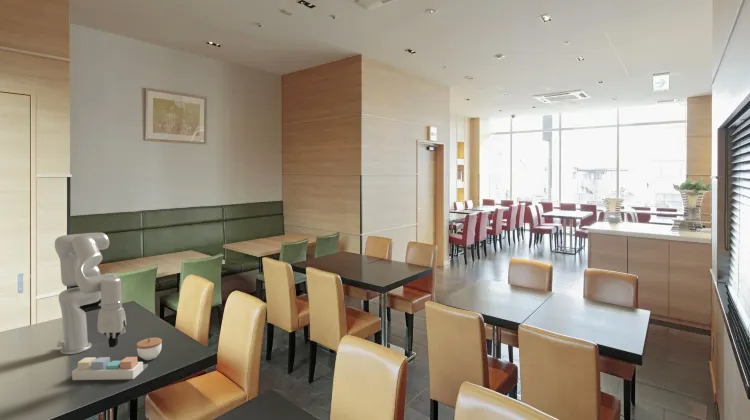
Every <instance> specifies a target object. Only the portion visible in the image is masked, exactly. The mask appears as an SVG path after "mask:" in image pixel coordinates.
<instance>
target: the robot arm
mask: <svg viewBox="0 0 750 420" xmlns="http://www.w3.org/2000/svg"><path fill="white" fill-rule="evenodd" d="M109 246H110V239H109V236H108V235H107V234H106V233H104V232H84V233H74V234H66V235H61V236H58V237H56V239H55V240H54V250H55V252H56V254H57V256H58V258H59V261H60V262H59V263H60V278H61V279H60V280H61V283H62V284H63V286H64V287H70V288H67V289H64V290H62V291H61V292H60V293H59V294H58V303H59V306H60V310H61V318H62V319H61V320H62V332H63V334H62V335H63V340H59V341H58V342H57V345H56V347H61V349H60V353H61V354H62V355H74V354H79V353H83V352H85V351H88V350H89V349H91V348H92V343H91V342H89V340H88V322H87V313H86V312H85V310H83V309H82V308H81V307H82V306H85V305H90V304H94V303H97V302H99V301H100V302H99V303H98V307H100V309H98V310H99V311H98V315H97V326H96V327H97V332H98V333H99V334H102V335H105V337H106V339H108V347H109V348H115V347H116V346H118V344H119V343H118V342H119V340H118V339H119V338H118V337H119V336H120V335H123V334H126V333H127V330H126V328H127V319H126V311H125V309H124V306H123V300H122V299H123V298H122V297H123V296H122V294H123V293H122V280H121V278H120V277H119V276H117V275H116V274H115V273H104V274H101V271H100V267H99V266H98V265H100V263H102V261H103V254H102V252H101V251H102V250H106V249H108V248H109ZM100 250H101V251H100ZM74 286H77V287H74ZM71 287H72V288H71Z"/></svg>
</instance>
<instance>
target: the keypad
mask: <svg viewBox="0 0 750 420" xmlns="http://www.w3.org/2000/svg"><path fill="white" fill-rule="evenodd" d="M148 367H149V364H148V363H144V362H143V361H138V364H137V365H136V366H135V367H133V368H132V369H120V368H119V369H106V368H105V369H96V370H92V368H91V369H90V370H78V366H77V367H76V368H75V369H74V368H73V370H72V371H71V376H72V377H71V378H72V379H71V380H72V381H93V380H94V381H95V380H96V381H99V380H103V381H104V380H134V379H136V378H137V377H138V376H139V375H140V374H141V373H142V372H143V371H145V370H146V369H147V368H148Z"/></svg>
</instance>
